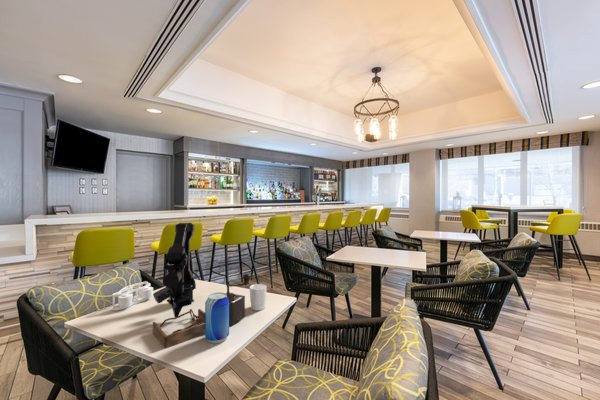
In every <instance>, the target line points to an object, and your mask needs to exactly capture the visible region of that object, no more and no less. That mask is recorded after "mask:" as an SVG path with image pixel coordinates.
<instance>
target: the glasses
mask: <svg viewBox="0 0 600 400" xmlns="http://www.w3.org/2000/svg"><path fill="white" fill-rule="evenodd" d="M187 314H189V315H190V317H191V319H192V321H195V320H196V322H195V323H192V324H190V325H188V326H186V327H184V328H180V329H177V330H173V332H172V333H175V332H178V331H181V330H184V329H187V328H190V327H193V326H197V325H200V324H202V321H201V320H200V318H199V316H198V315H196V314H195V313H194V311H193V310H192V308H190V309H189V310H188V311H185V312H184V313H182V314H179V315H178V316H177V317H175V316H174V317H169V318H166V319H164V321H162V323H161V324H160V325H158V326H159V327H160V328H161V327H163V325H164V324H165V323H166V322H167V321H170V320H176V319H179V318H181V317H183V316H185V315H187Z"/></svg>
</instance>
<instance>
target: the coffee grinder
mask: <svg viewBox="0 0 600 400" xmlns="http://www.w3.org/2000/svg"><path fill="white" fill-rule="evenodd" d="M242 279H243V283H234V284H233V283H232V284H230V281H229V280H227V281H226V283H225V284H226V285H225V286H226V292H224V293H225V294H226V296H227V298H228V299H229V328H231V327H233V326H234V325H236V324H237V323H239V322H240V321H242V320H243V319H244V318H245V317H246V303H245V302H246V300H245V299H246V296H245V295H242V294H237V293H233V292H230V287H238V286H239V287H240V286H241V287H243V286H247V285H250V280H251V279H252V275H251V274H250V273H244V274H243V275H242Z"/></svg>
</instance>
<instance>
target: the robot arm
mask: <svg viewBox="0 0 600 400" xmlns="http://www.w3.org/2000/svg"><path fill="white" fill-rule="evenodd" d="M195 231H196V230H195V224H193V222H179V223H176V224H175V225H174V233H175V236H174V240H173V244H172V245H171V246H170V247H169V248H168V250H167V253H165V257H164V264H163V265H164V266H163V271H164V270H165V271H166V270H167V273H166V274H165V275H164V277H163V278H162V284H163V286H164V288H161V289H158V291H155V292H153V296H152V297H153V298H154V300H155V302H157V304H161V303H163V302H164V301H166V302H167V303H168V304H170V306H171V309H172V312H173V315H174V316H173V317H174V318H175V317H177V316H179V315H180V313H181V311H182V308H183V307H188V306H191V305H192V303H194V302H195V299H193V298H194V292H193V291H194V290H196V287H197V284H196V280H195V277H194V274H193V272H192V271H191V268H190V267H191V266H190V265H191V264H190V260H191V259H190V258H191V257H190V256H191V253H190V251H191V250H190V247H191V239H192V237H193V236H194V232H195Z"/></svg>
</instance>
